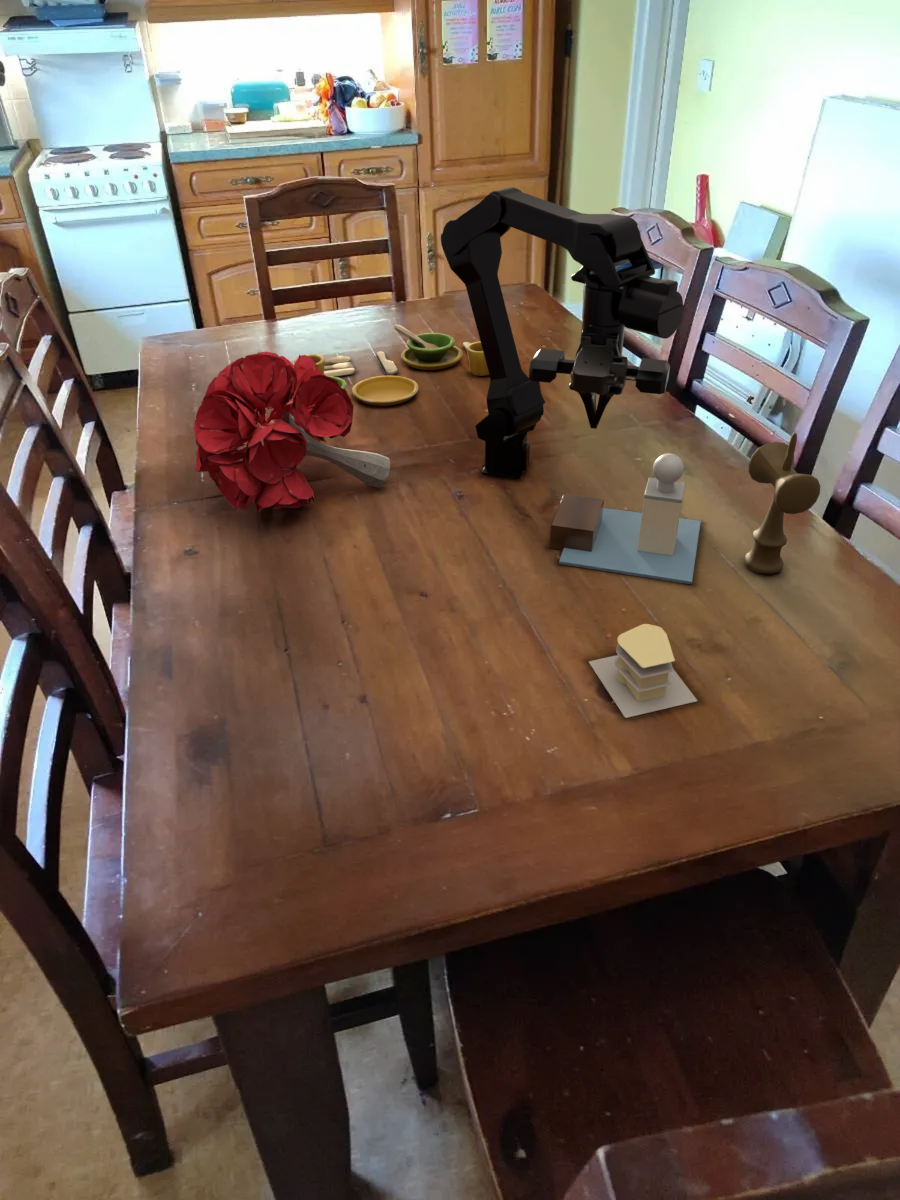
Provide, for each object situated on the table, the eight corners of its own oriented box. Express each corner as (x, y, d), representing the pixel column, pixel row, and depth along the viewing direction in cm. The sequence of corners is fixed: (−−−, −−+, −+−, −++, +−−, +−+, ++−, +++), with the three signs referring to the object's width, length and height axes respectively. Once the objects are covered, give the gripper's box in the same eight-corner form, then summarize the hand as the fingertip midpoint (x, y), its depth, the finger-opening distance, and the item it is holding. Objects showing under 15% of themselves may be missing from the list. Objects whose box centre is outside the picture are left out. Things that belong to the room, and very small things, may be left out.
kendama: (770, 545, 122) (802, 414, 110) (798, 585, 114) (836, 448, 102) (729, 548, 121) (756, 417, 109) (754, 588, 113) (787, 451, 101)
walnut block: (549, 548, 122) (550, 524, 120) (561, 516, 129) (563, 493, 126) (591, 554, 121) (593, 530, 118) (601, 522, 127) (604, 499, 125)
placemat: (558, 564, 119) (559, 561, 119) (579, 507, 131) (579, 504, 131) (691, 584, 114) (692, 581, 114) (700, 523, 127) (700, 520, 126)
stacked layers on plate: (697, 701, 97) (705, 664, 93) (625, 718, 95) (630, 681, 91) (656, 647, 104) (662, 611, 101) (588, 661, 102) (592, 625, 99)
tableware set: (474, 344, 187) (474, 315, 183) (512, 394, 166) (513, 362, 162) (285, 364, 180) (281, 335, 176) (299, 419, 158) (294, 387, 154)
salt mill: (603, 485, 116) (674, 459, 111) (609, 468, 120) (678, 442, 114) (644, 564, 121) (714, 543, 116) (648, 545, 125) (716, 524, 120)
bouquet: (343, 490, 150) (172, 432, 136) (405, 374, 139) (225, 298, 125) (362, 565, 134) (170, 508, 120) (433, 441, 123) (230, 362, 109)
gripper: (521, 334, 111) (517, 444, 120) (668, 347, 106) (652, 460, 115) (540, 307, 119) (535, 411, 128) (677, 318, 114) (661, 426, 124)
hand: (594, 427), depth 124 cm, fingers closed
